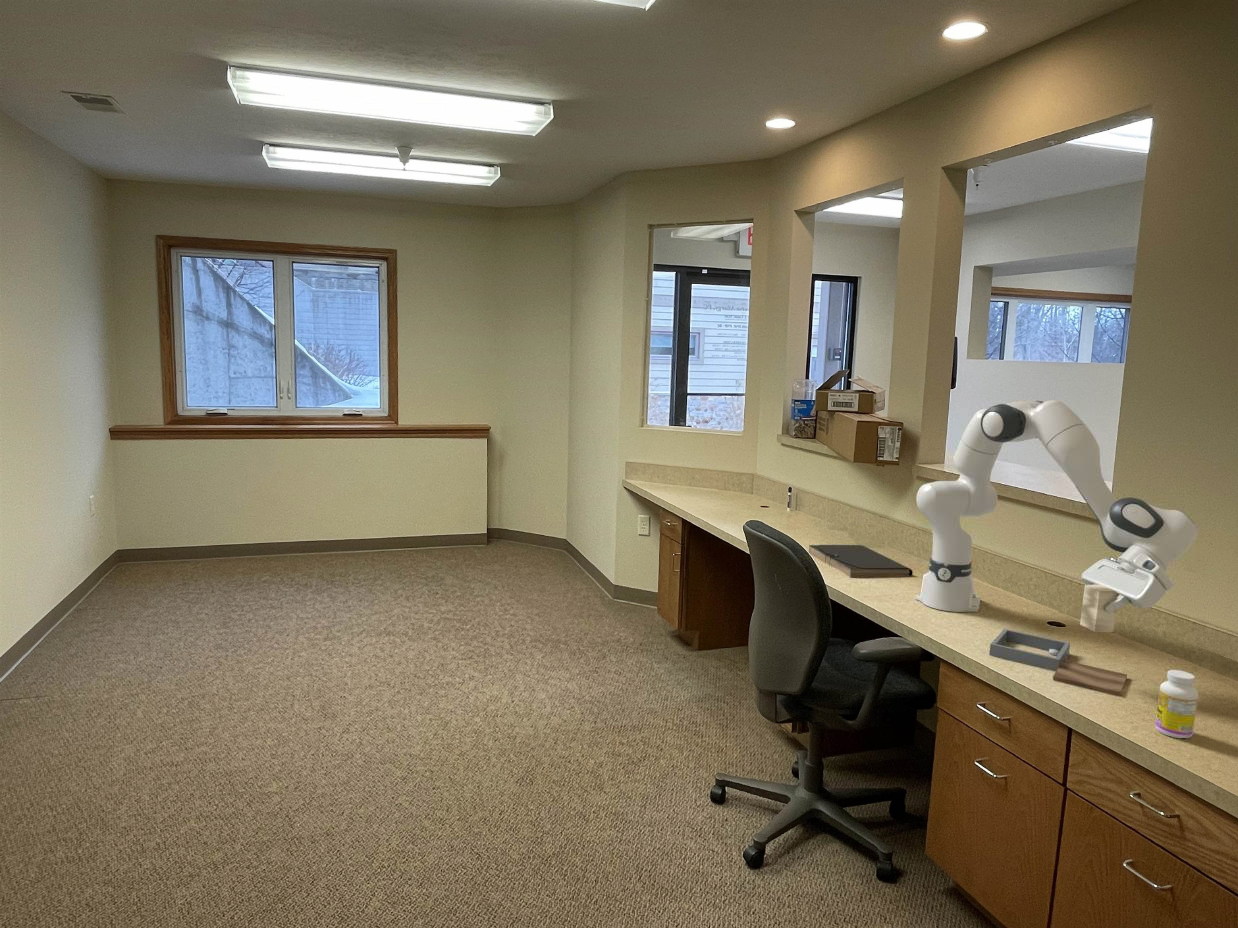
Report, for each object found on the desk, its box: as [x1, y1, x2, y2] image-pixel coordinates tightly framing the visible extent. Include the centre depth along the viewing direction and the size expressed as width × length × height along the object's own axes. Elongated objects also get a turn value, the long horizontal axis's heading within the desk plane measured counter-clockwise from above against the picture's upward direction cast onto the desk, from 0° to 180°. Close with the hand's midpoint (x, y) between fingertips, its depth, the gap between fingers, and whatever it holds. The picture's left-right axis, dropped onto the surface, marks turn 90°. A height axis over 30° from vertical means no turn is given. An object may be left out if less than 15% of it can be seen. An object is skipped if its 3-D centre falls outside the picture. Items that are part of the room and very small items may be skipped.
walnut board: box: [1052, 659, 1128, 697], centre depth 199 cm, size 14×14×1 cm
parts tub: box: [989, 628, 1071, 672], centre depth 214 cm, size 16×16×3 cm
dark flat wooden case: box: [808, 544, 914, 578], centre depth 301 cm, size 33×4×24 cm
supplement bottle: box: [1154, 669, 1199, 739], centre depth 171 cm, size 7×7×13 cm
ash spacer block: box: [1079, 584, 1118, 633], centre depth 197 cm, size 5×5×10 cm
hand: (1096, 606), depth 197 cm, fingers closed on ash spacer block, 5 cm apart
